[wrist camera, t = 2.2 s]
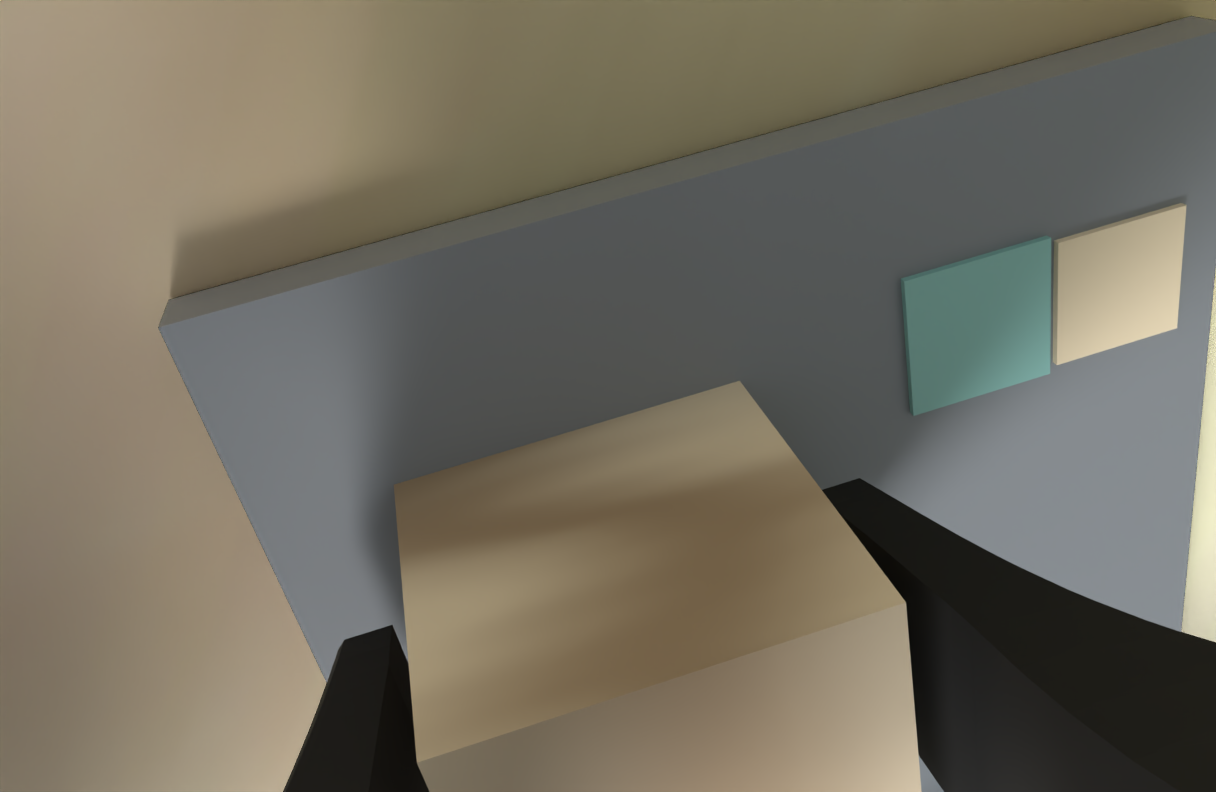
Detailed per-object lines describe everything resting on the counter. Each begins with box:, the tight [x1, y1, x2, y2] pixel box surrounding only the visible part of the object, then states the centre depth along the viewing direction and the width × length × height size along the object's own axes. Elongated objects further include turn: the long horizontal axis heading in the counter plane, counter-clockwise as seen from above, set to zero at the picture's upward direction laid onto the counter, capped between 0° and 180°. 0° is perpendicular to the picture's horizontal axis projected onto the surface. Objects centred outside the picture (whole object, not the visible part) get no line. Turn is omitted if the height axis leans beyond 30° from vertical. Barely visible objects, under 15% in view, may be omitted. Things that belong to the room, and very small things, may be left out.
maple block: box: [394, 381, 922, 792], centre depth 12 cm, size 4×4×4 cm
